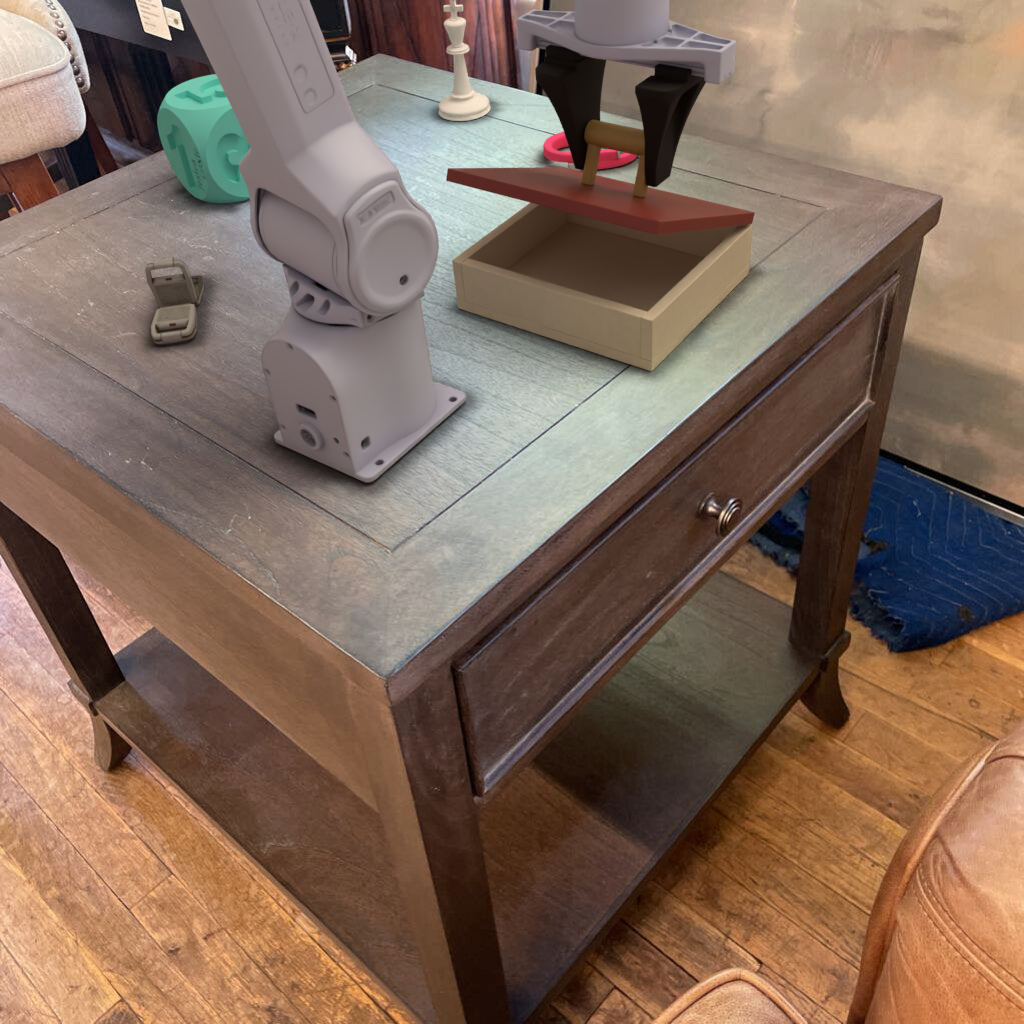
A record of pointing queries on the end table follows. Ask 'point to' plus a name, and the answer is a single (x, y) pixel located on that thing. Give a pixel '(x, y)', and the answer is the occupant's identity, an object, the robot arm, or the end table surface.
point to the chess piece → (460, 74)
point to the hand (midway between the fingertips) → (622, 172)
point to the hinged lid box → (600, 281)
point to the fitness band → (559, 141)
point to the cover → (605, 189)
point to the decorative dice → (204, 140)
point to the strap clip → (174, 302)
